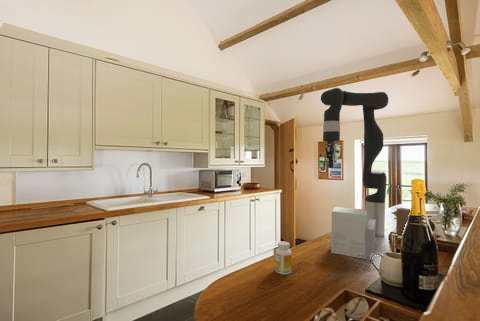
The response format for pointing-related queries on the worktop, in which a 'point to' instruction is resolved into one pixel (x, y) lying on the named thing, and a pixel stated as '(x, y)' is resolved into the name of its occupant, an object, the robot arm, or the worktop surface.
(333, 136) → the robot arm
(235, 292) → the worktop surface
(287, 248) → the supplement bottle
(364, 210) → the supplement box
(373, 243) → the grey board
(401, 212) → the wooden block
